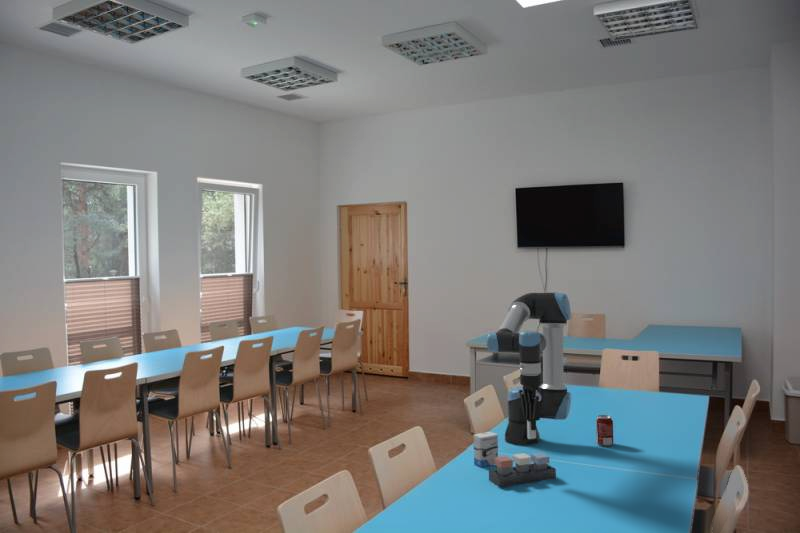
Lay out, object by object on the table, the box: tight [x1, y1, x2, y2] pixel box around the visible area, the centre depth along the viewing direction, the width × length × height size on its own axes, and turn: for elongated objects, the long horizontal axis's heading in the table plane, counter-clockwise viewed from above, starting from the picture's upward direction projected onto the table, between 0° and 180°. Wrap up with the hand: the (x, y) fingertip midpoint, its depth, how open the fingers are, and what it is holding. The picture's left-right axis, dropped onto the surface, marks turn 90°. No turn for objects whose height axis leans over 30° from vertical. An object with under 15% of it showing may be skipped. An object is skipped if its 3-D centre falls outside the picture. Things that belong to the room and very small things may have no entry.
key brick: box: [494, 455, 514, 476], centre depth 222 cm, size 5×5×5 cm
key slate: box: [530, 452, 550, 470], centre depth 227 cm, size 5×5×5 cm
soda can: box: [595, 414, 614, 448], centre depth 261 cm, size 7×7×12 cm
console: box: [488, 463, 557, 489], centre depth 224 cm, size 23×8×4 cm, turn 109°
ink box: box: [473, 431, 499, 468], centre depth 241 cm, size 8×5×12 cm, turn 117°
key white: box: [512, 452, 532, 473], centre depth 224 cm, size 5×5×5 cm
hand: (531, 438), depth 225 cm, fingers closed
